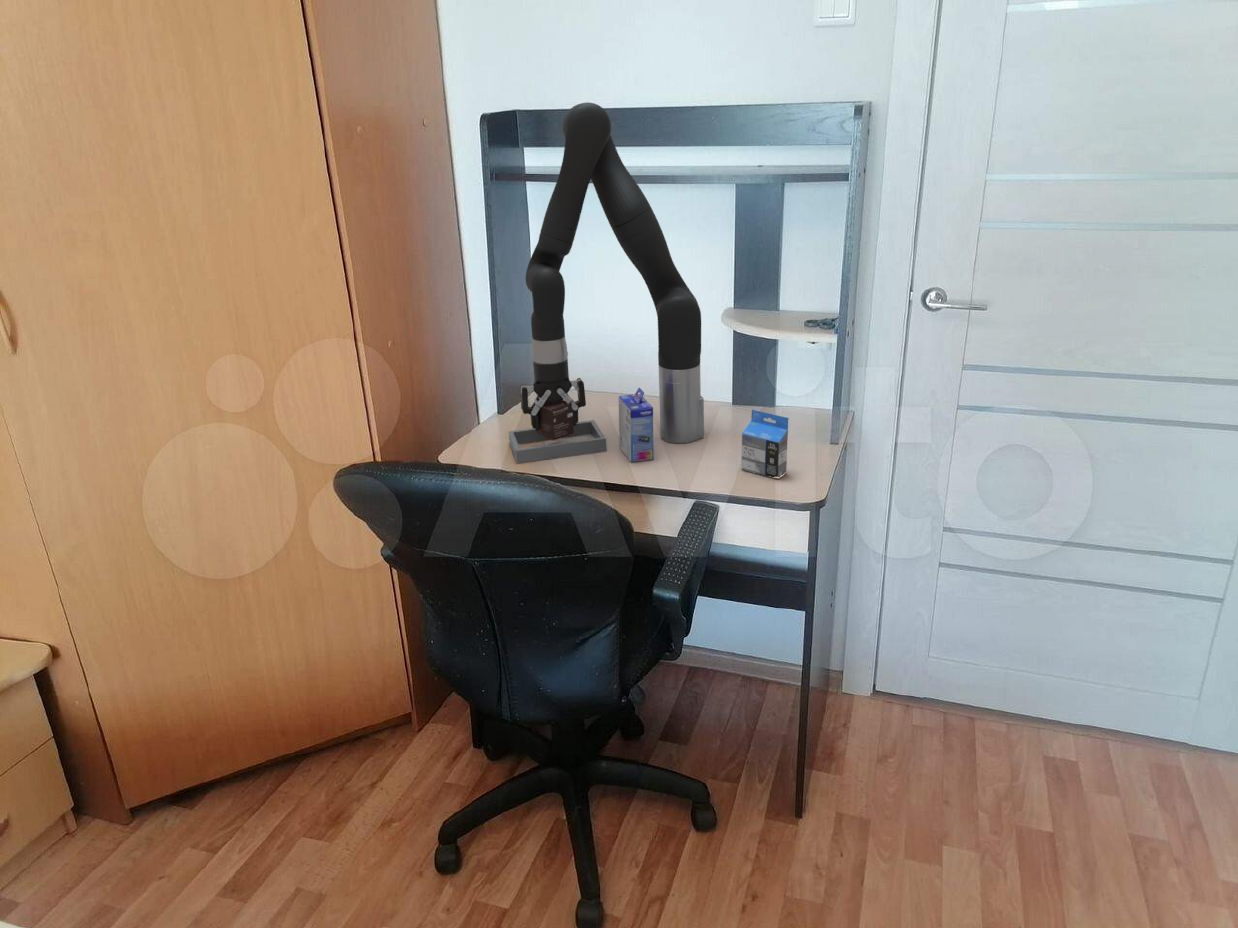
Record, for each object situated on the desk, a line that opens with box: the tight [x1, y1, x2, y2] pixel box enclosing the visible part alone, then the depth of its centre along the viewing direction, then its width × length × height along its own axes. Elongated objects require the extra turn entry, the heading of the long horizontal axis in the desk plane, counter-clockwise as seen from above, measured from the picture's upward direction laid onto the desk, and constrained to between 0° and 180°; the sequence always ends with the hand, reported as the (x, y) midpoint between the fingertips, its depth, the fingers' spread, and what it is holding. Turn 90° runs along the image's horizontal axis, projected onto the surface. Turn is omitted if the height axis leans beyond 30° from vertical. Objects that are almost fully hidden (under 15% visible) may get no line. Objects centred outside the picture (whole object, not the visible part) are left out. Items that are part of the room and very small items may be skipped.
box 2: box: [507, 419, 608, 464], centre depth 203 cm, size 20×12×3 cm, turn 104°
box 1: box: [537, 399, 574, 441], centre depth 201 cm, size 6×6×7 cm
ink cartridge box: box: [618, 387, 655, 463], centre depth 196 cm, size 10×6×14 cm, turn 16°
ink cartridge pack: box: [741, 409, 789, 477], centre depth 185 cm, size 9×4×12 cm, turn 51°
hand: (555, 427), depth 202 cm, fingers closed on box 1, 8 cm apart
